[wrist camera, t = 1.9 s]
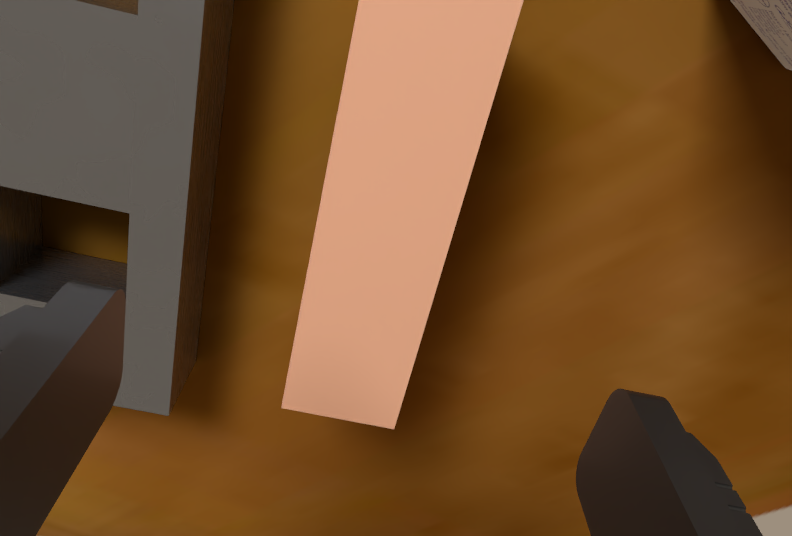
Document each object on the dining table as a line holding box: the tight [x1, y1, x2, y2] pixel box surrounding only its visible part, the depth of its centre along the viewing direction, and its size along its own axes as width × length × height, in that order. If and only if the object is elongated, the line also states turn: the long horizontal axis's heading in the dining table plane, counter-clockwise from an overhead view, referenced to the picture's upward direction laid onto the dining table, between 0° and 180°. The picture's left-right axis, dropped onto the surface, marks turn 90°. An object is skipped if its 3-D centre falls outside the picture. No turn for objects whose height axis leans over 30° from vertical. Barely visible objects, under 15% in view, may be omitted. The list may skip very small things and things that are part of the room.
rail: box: [0, 0, 235, 416], centre depth 20 cm, size 8×22×4 cm, turn 167°
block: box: [281, 0, 523, 429], centre depth 20 cm, size 4×14×6 cm, turn 167°
